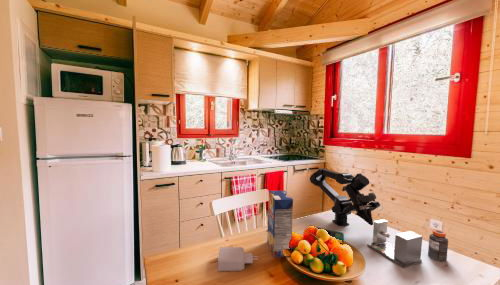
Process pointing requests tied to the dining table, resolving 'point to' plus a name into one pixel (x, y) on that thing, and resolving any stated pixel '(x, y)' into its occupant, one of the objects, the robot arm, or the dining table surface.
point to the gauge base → (401, 249)
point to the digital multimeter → (335, 234)
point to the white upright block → (380, 232)
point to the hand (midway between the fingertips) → (372, 224)
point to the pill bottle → (438, 245)
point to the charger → (233, 258)
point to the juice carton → (279, 222)
